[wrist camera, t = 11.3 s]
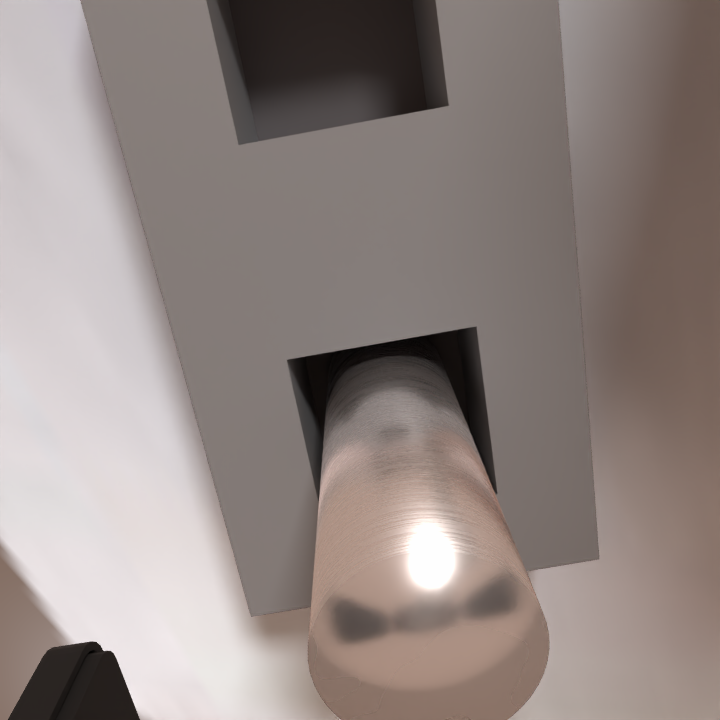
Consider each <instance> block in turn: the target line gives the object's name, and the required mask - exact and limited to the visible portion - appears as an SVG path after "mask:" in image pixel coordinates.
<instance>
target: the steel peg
mask: <svg viewBox="0 0 720 720" xmlns="http://www.w3.org/2000/svg"><path fill="white" fill-rule="evenodd" d="M548 654H549V633H548V628H547V623H546V620H545V617H544V615H543V612H542V609H541V607H540V604H539V602H538V599H537V597H536V594H535V592H534V589H533V587H532V584H531V582H530V579H529V577H528V575H527V572H526V570H525V567H524V565H523V562H522V560H521V557H520V555H519V552H518V550H517V547H516V545H515V542H514V540H513V537H512V535H511V532H510V530H509V527H508V525H507V522H506V520H505V517H504V515H503V512H502V510H501V507H500V505H499V502H498V500H497V497H496V495H495V492H494V490H493V488H492V485H491V483H490V480H489V478H488V475H487V473H486V470H485V468H484V465H483V463H482V460H481V458H480V455H479V453H478V450H477V448H476V445H475V443H474V440H473V438H472V435H471V433H470V430H469V428H468V425H467V423H466V420H465V418H464V415H463V413H462V410H461V408H460V406H459V403H458V401H457V398H456V396H455V393H454V391H453V388H452V386H451V383H450V381H449V378H448V376H447V373H446V371H445V368H444V366H443V363H442V361H441V358H440V356H439V353H438V351H437V349H436V348H435V346H434V345H433V343H432V342H431V341H430V339H429V338H428V337H427V336H426V335H424V336H419V337H413V338H407V339H402V340H396V341H390V342H385V343H379V344H373V345H368V346H362V347H356V348H351V349H345V350H339V351H335V352H334V354H333V356H332V359H331V362H330V366H329V374H328V388H327V401H326V414H325V428H324V441H323V454H322V467H321V481H320V494H319V507H318V521H317V534H316V547H315V560H314V574H313V587H312V600H311V613H310V627H309V640H308V663H309V669H310V674H311V677H312V680H313V683H314V685H315V687H316V689H317V691H318V693H319V695H320V696H321V698H322V699H323V701H324V702H325V703H326V705H327V706H328V707H329V708H330V709H331V710H332V711H333V712H334V713H335V714H336V715H337V716H338V717H339V718H340V719H342V720H507V719H508V718H510V717H511V716H512V715H514V714H515V713H516V712H517V711H518V710H519V709H520V708H521V707H522V706H523V705H524V704H525V703H526V702H527V700H528V699H529V698H530V697H531V695H532V694H533V692H534V691H535V689H536V688H537V686H538V685H539V682H540V680H541V678H542V676H543V674H544V671H545V668H546V664H547V661H548Z"/></svg>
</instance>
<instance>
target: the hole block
mask: <svg viewBox="0 0 720 720" xmlns="http://www.w3.org/2000/svg"><path fill="white" fill-rule="evenodd" d="M80 1H81V4H82V8H83V12H84V15H85V19H86V22H87V26H88V30H89V33H90V37H91V41H92V44H93V48H94V51H95V55H96V59H97V62H98V66H99V69H100V73H101V77H102V80H103V84H104V87H105V91H106V95H107V98H108V102H109V105H110V109H111V113H112V116H113V120H114V124H115V127H116V131H117V134H118V138H119V142H120V145H121V149H122V152H123V156H124V160H125V163H126V167H127V170H128V174H129V178H130V181H131V185H132V188H133V192H134V196H135V199H136V203H137V207H138V210H139V214H140V217H141V221H142V225H143V228H144V232H145V235H146V239H147V243H148V246H149V250H150V253H151V257H152V261H153V264H154V268H155V271H156V275H157V279H158V282H159V286H160V290H161V293H162V297H163V300H164V304H165V308H166V311H167V315H168V318H169V322H170V326H171V329H172V333H173V336H174V340H175V344H176V347H177V351H178V354H179V358H180V362H181V365H182V369H183V373H184V376H185V380H186V383H187V387H188V391H189V394H190V398H191V401H192V405H193V409H194V412H195V416H196V419H197V423H198V427H199V430H200V434H201V437H202V441H203V445H204V448H205V452H206V455H207V459H208V463H209V466H210V470H211V474H212V477H213V481H214V484H215V488H216V492H217V495H218V499H219V502H220V506H221V510H222V513H223V517H224V520H225V524H226V528H227V531H228V535H229V538H230V542H231V546H232V549H233V553H234V557H235V560H236V564H237V567H238V571H239V575H240V578H241V582H242V585H243V589H244V593H245V596H246V600H247V603H248V607H249V611H250V614H251V617H253V616H259V615H265V614H271V613H277V612H283V611H289V610H295V609H301V608H307V607H311V600H312V587H313V574H314V560H315V547H316V534H317V521H318V507H319V494H320V481H321V467H322V454H323V441H324V428H325V414H326V401H327V388H328V374H329V366H330V362H331V359H332V356H333V354H334V352H335V351H339V350H345V349H351V348H356V347H362V346H368V345H373V344H379V343H385V342H390V341H396V340H402V339H407V338H413V337H419V336H424V335H426V336H427V337H428V338H429V339H430V341H431V342H432V343H433V345H434V346H435V348H436V349H437V351H438V353H439V356H440V358H441V361H442V363H443V366H444V368H445V371H446V373H447V376H448V378H449V381H450V383H451V386H452V388H453V391H454V393H455V396H456V398H457V401H458V403H459V406H460V408H461V410H462V413H463V415H464V418H465V420H466V423H467V425H468V428H469V430H470V433H471V435H472V438H473V440H474V443H475V445H476V448H477V450H478V453H479V455H480V458H481V460H482V463H483V465H484V468H485V470H486V473H487V475H488V478H489V480H490V483H491V485H492V488H493V490H494V492H495V495H496V497H497V500H498V502H499V505H500V507H501V510H502V512H503V515H504V517H505V520H506V522H507V525H508V527H509V530H510V532H511V535H512V537H513V540H514V542H515V545H516V547H517V550H518V552H519V555H520V557H521V560H522V562H523V565H524V567H525V570H526V571H531V570H537V569H543V568H549V567H555V566H561V565H567V564H573V563H579V562H585V561H591V560H597V559H599V548H598V534H597V521H596V507H595V493H594V480H593V466H592V452H591V439H590V425H589V412H588V398H587V384H586V371H585V357H584V344H583V330H582V316H581V303H580V289H579V276H578V262H577V248H576V235H575V221H574V207H573V194H572V180H571V167H570V153H569V139H568V126H567V112H566V99H565V85H564V71H563V58H562V44H561V31H560V17H559V3H558V0H80Z"/></svg>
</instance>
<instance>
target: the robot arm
mask: <svg viewBox="0 0 720 720" xmlns="http://www.w3.org/2000/svg"><path fill="white" fill-rule="evenodd" d="M8 720H140V719H139V716H138V714H137V711H136V708H135V706H134V703H133V701H132V698H131V695H130V693H129V690H128V688H127V685H126V683H125V680H124V677H123V675H122V672H121V670H120V667H119V664H118V662H117V659H116V657H115V655H114V653H112V652H111V651H103V650H102V648H101V646H100V645H99V644H98V643H97V642H85V643H79V644H72V645H66V646H59V647H53V648H51V649H49V650H48V651H47V652H46V654H45V655H44V656H43V658H42V659H41V661H40V663H39V665H38V667H37V669H36V670H35V672H34V674H33V676H32V677H31V679H30V681H29V683H28V684H27V686H26V688H25V690H24V692H23V694H22V695H21V697H20V699H19V701H18V702H17V704H16V706H15V708H14V710H13V711H12V713H11V715H10V717H9V719H8Z"/></svg>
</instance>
